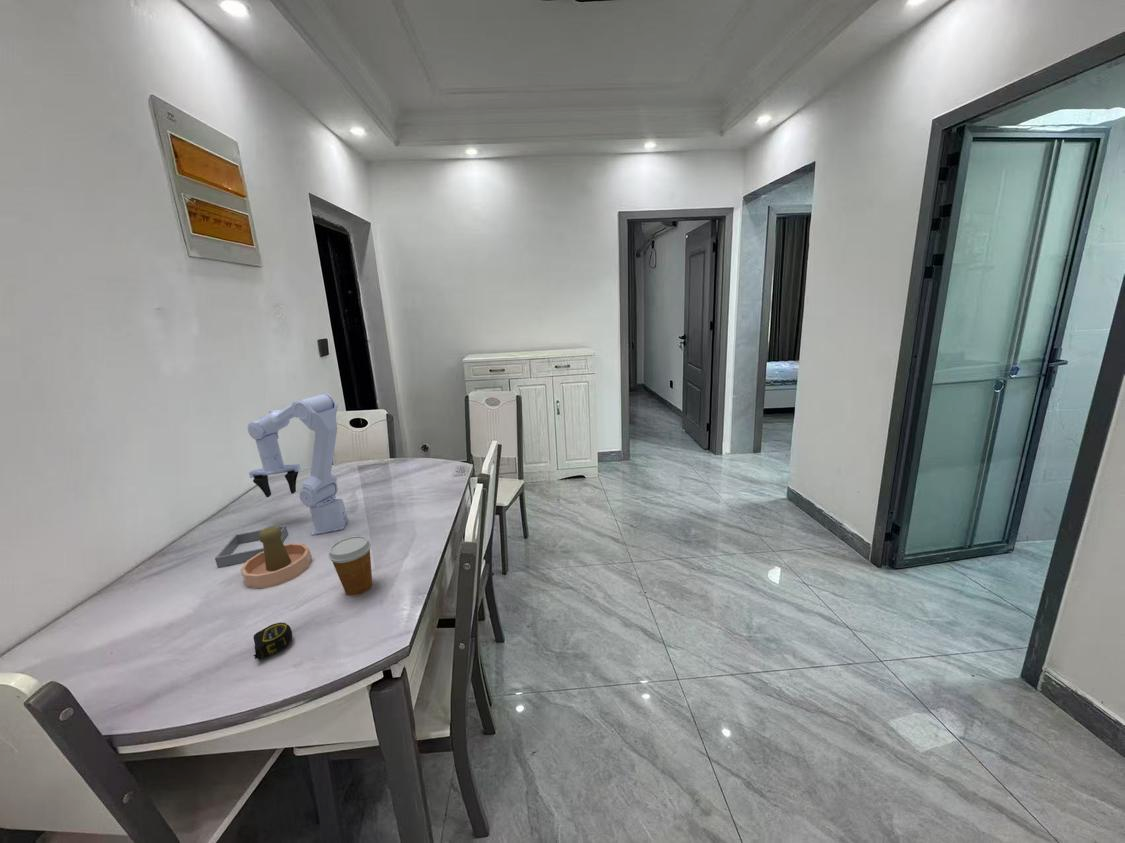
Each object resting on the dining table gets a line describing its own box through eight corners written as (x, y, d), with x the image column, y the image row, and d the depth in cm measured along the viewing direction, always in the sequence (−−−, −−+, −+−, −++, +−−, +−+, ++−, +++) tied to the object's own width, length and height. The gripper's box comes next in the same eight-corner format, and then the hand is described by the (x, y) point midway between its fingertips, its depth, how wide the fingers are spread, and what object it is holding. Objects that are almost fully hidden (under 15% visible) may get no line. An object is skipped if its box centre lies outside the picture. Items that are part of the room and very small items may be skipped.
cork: (280, 571, 122) (270, 534, 119) (260, 571, 123) (249, 535, 120) (296, 558, 128) (286, 523, 125) (276, 558, 129) (266, 523, 126)
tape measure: (256, 645, 96) (251, 630, 95) (293, 630, 100) (288, 616, 99) (256, 665, 91) (251, 649, 90) (295, 649, 94) (291, 633, 93)
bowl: (316, 549, 134) (314, 538, 133) (302, 579, 119) (299, 567, 118) (257, 561, 130) (254, 550, 129) (235, 593, 115) (231, 581, 114)
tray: (288, 533, 145) (285, 525, 144) (273, 556, 132) (271, 547, 131) (237, 543, 142) (235, 534, 141) (217, 567, 129) (214, 558, 128)
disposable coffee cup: (338, 583, 116) (328, 541, 113) (378, 572, 119) (369, 531, 116) (337, 605, 107) (325, 560, 104) (380, 592, 111) (370, 548, 107)
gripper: (240, 462, 142) (251, 502, 145) (289, 456, 144) (300, 495, 148) (250, 455, 149) (261, 493, 152) (298, 449, 151) (308, 487, 154)
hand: (281, 494), depth 150 cm, fingers open, 7 cm apart
